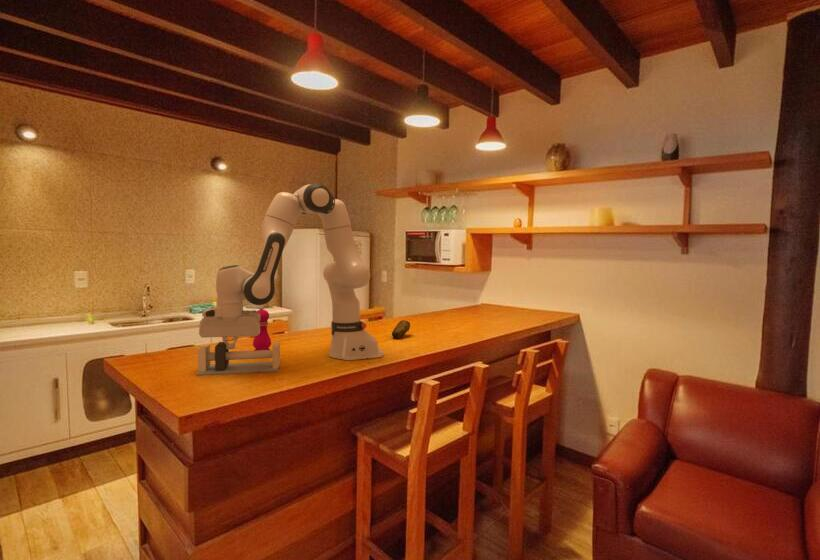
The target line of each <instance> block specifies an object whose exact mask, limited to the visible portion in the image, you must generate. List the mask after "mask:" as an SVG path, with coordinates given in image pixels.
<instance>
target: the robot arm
mask: <svg viewBox="0 0 820 560" xmlns="http://www.w3.org/2000/svg"><path fill="white" fill-rule="evenodd" d="M302 214H303V215H314V214H316V215H318V216H319V218H320V220H321V225H322V229H323V235H324V239H325V245H326V249H327V251H328V252H329V253H330V254H331V256H332V258H333V259H334V260H333V261H330V262H328V263H327V264H326V265H325V266H324V268H323V271H322V273H323V278H324V280H325V281H326V283H327V286H328V289H329V293H330V298H331V305H332V306H331V307H332V309H331V310H332V312H331V313H332V320H331V324H330V333H331V334H330V335H331V341H330V342H331V343H330V347H329V348H330V349H329V352H328V356H329V357H331V358H333V359H338V360H339V359H340V360H344V361H356V360H366V359H367V358H368V359H376V358H382V357H384V350H382V349H381V348H379V345H378V341H377V339H376V338H375V336H373V335H372V334H370V333H369V332H368V331H367V330H366V328H367V324H366V323H365V322H363V321H362V320H360V318H361V317H360V316H361V315H360V308H361V307H360V300H359V299H358V297H357V295H356V292H355V289H359V288H363V287H365V286H367V285H368V283H369V281H370V279H371V272H370V269H369V267H368V266H367V265H366V264H365V263H364V261H363V260H362V258H361V255H360V254H359V252H358V249H357V246H356V243H355V241H354V239H355V238H354V235H353V230H352V224H351V219H350V216H349V212H348V209H347V206H346V204H345V203H344V201H342V200H341V199H337V198H335V197H334V196H333V194H332V193H331V191H330V189H329V188H328V187H327V186H326V185H324V184H322V183H318V182H317V183H315V182H314V183H309V184H306V185H305V184H304V185H303V186H302V187H299V188H297V189H296V190H294V191H293V192H292V193H290V192H287V191H282V192H278V193H276V194H275V196H274V197H273V199H272V200H271V202H270V204H269V206H268V208H267V210H266V212H265V215H264V218H263V221H262V224H261V232H260V235H261V238H262V242H263V243H262V244H263V250H262V251H261V252H262V253H261V256H260V258H259V262H258V265H257V268H256V270H255V272H252V271H250V270H247V269H246V268H244V267H242V266H241V265H238V264H237V265H235V264H234V265H226V266H223V267H221V268H219V269H218V271H217V274H216V279H215V289H216V290H215V291H216V294H217V298H216V303H215V304H216V306H212V307H209V308H207V309H204V310H203V311H202V312H201V313H202V315H201V316H202V317H203V318H201V320H200V323H199V327H198V328H199V329H198V335H199V336H200V338H202V339H203V338H222V342H224V343H225V344H226V349H229V350H235V349H236V343H237V342H238V340H239V337H255V336H258V335H259V333H260V325H259V322H260V319H261V315H260V313H259V312H257V311H258V310H255V309H253V310H252V309H251V310H244V300H247V302H249V303H250V304H252V305H254V306H255V305H256V306H264V305H266V304H268V303H269V302H271V300H272V299H273V297H274V296H275V291H276V287H275V286H276V285H275V277H276V273H277V269H278V266H279V262H280V260H281V257H282V254H283V251H284V249H285V247H286V246H287V243H288V242H289V240H290V238H291V236H292V234H293V231H294V229H295V226H296V224H297V220H298V219H299V216H300V215H302ZM231 337H232V339H233V340H234V341H233V342H231V343H229V341H228V338H231Z"/></svg>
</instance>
